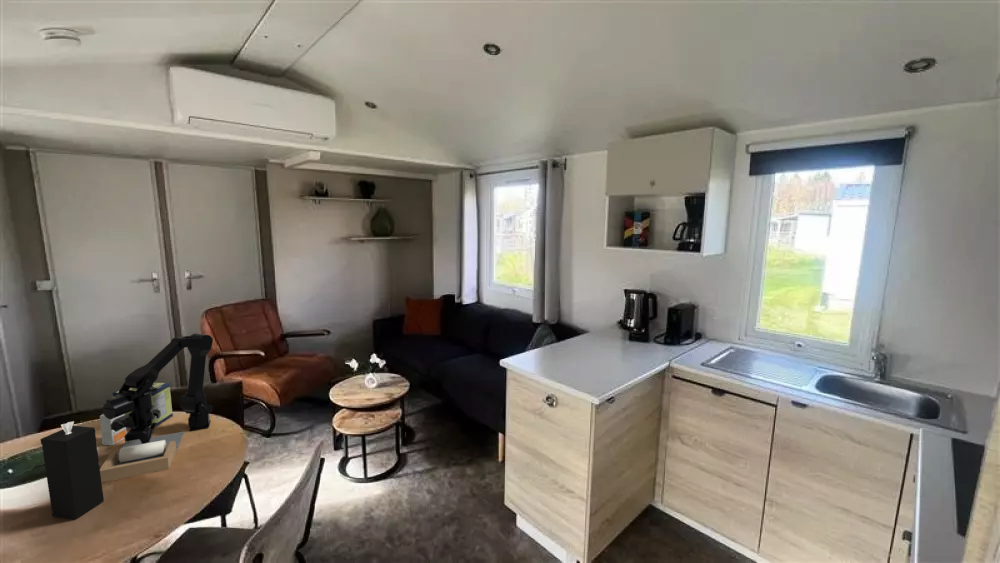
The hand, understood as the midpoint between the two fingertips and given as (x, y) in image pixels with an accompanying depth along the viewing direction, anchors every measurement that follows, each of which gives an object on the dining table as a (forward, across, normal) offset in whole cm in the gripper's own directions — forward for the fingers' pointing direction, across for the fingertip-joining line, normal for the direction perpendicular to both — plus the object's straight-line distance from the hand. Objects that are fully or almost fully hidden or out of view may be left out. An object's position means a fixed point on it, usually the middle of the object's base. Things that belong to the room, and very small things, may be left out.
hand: (145, 446), depth 150 cm
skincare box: (+3, -16, -13) cm, 21 cm away
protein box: (+3, -30, -7) cm, 31 cm away
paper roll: (0, +4, 0) cm, 4 cm away
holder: (+3, +1, 0) cm, 3 cm away
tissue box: (+4, +27, -10) cm, 29 cm away
